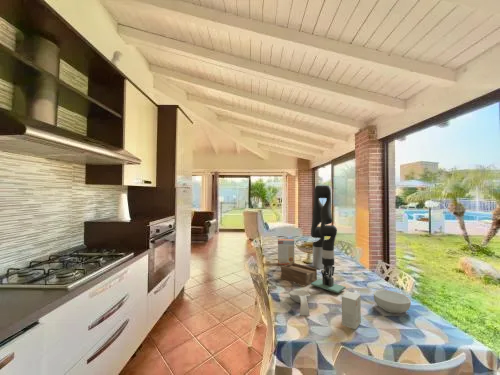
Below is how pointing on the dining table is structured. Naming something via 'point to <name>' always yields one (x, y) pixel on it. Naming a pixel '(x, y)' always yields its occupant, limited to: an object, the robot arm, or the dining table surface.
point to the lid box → (299, 274)
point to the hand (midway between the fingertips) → (328, 284)
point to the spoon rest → (301, 300)
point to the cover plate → (334, 288)
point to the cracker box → (285, 251)
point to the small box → (351, 310)
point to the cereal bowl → (392, 301)
